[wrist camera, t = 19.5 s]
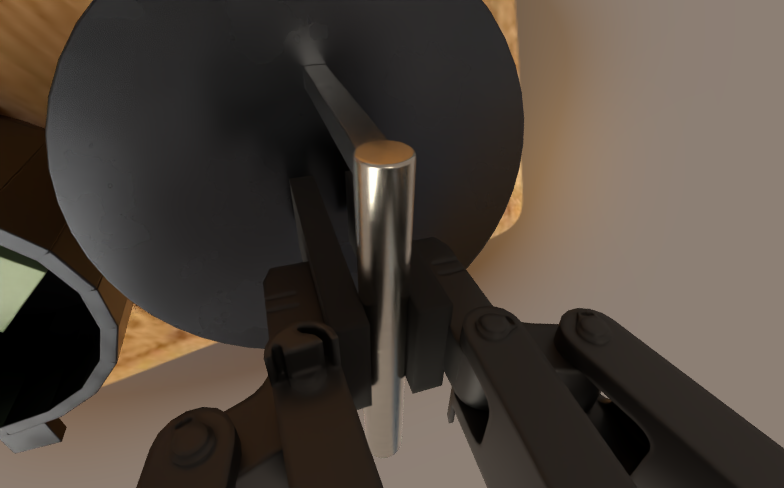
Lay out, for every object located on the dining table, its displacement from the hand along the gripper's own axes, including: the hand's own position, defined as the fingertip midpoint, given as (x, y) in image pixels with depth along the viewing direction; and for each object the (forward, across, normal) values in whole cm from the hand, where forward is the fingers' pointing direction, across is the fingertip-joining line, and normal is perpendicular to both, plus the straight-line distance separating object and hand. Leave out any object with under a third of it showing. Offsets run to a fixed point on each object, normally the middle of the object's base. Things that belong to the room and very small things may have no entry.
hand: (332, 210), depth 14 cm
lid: (+2, 0, 0) cm, 2 cm away
